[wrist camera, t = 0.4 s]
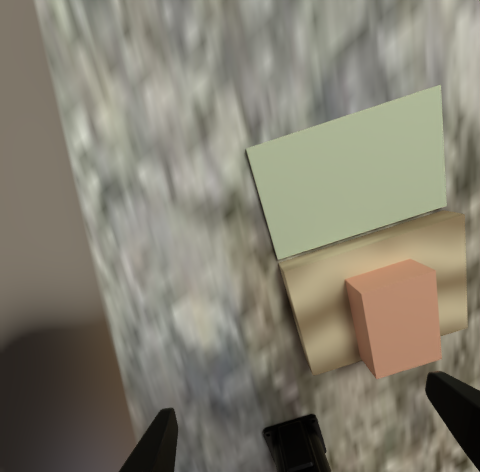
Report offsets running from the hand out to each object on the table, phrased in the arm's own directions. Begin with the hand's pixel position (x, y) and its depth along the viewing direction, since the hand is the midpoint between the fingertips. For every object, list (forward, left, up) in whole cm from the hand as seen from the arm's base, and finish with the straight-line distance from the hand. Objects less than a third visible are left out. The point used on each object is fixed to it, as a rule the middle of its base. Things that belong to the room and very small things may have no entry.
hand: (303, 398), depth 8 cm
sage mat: (+4, -10, -14) cm, 17 cm away
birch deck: (-7, -10, -14) cm, 19 cm away
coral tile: (-8, -10, -12) cm, 18 cm away
